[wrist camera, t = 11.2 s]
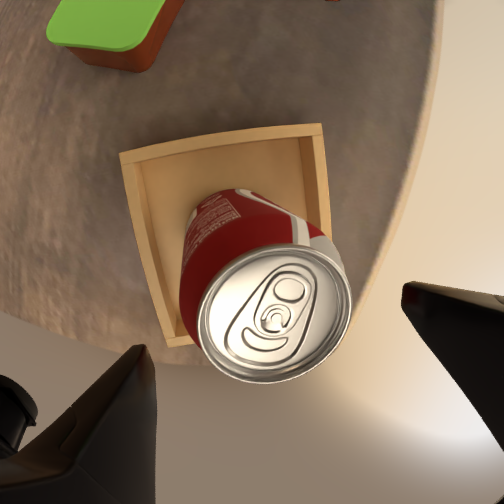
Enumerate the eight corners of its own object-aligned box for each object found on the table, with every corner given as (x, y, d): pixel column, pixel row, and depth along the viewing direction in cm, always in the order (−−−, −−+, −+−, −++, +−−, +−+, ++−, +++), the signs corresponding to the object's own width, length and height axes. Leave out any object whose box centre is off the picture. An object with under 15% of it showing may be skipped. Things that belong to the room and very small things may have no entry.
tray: (319, 295, 24) (334, 311, 22) (169, 327, 23) (168, 348, 20) (305, 126, 20) (321, 122, 17) (128, 153, 18) (118, 152, 15)
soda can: (172, 262, 21) (154, 375, 9) (206, 172, 19) (223, 189, 8) (257, 290, 23) (313, 403, 11) (294, 208, 21) (396, 265, 10)
